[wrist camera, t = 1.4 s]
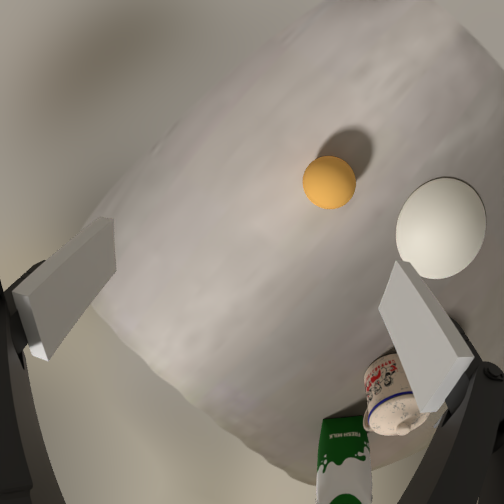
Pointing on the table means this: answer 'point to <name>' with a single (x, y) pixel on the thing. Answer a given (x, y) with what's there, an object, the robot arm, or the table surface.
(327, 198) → the ball
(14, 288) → the robot arm
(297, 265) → the table surface
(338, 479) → the milk carton
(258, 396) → the table surface
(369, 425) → the teacup with lid
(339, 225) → the table surface
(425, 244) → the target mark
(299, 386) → the table surface
